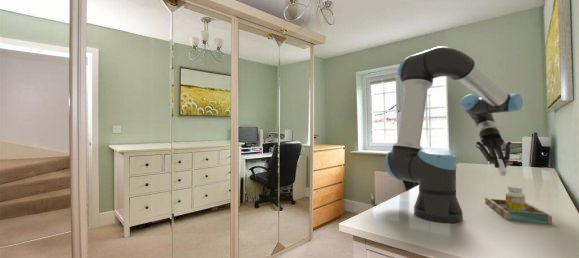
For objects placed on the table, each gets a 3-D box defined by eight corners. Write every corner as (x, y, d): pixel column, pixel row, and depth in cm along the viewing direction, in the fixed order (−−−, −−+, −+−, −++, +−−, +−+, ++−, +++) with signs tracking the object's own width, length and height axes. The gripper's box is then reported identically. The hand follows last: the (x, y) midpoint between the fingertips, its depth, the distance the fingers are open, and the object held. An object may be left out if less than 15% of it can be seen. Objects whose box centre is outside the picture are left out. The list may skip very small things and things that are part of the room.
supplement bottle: (526, 216, 91) (525, 189, 91) (506, 213, 94) (505, 187, 94) (524, 212, 95) (524, 186, 95) (505, 210, 98) (505, 184, 98)
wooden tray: (485, 203, 108) (485, 196, 108) (521, 206, 103) (521, 198, 103) (506, 219, 88) (505, 210, 88) (552, 224, 83) (551, 214, 83)
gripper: (503, 138, 120) (521, 179, 105) (470, 138, 125) (482, 178, 110) (508, 126, 116) (526, 168, 100) (473, 127, 121) (486, 167, 105)
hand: (503, 173), depth 105 cm, fingers closed
